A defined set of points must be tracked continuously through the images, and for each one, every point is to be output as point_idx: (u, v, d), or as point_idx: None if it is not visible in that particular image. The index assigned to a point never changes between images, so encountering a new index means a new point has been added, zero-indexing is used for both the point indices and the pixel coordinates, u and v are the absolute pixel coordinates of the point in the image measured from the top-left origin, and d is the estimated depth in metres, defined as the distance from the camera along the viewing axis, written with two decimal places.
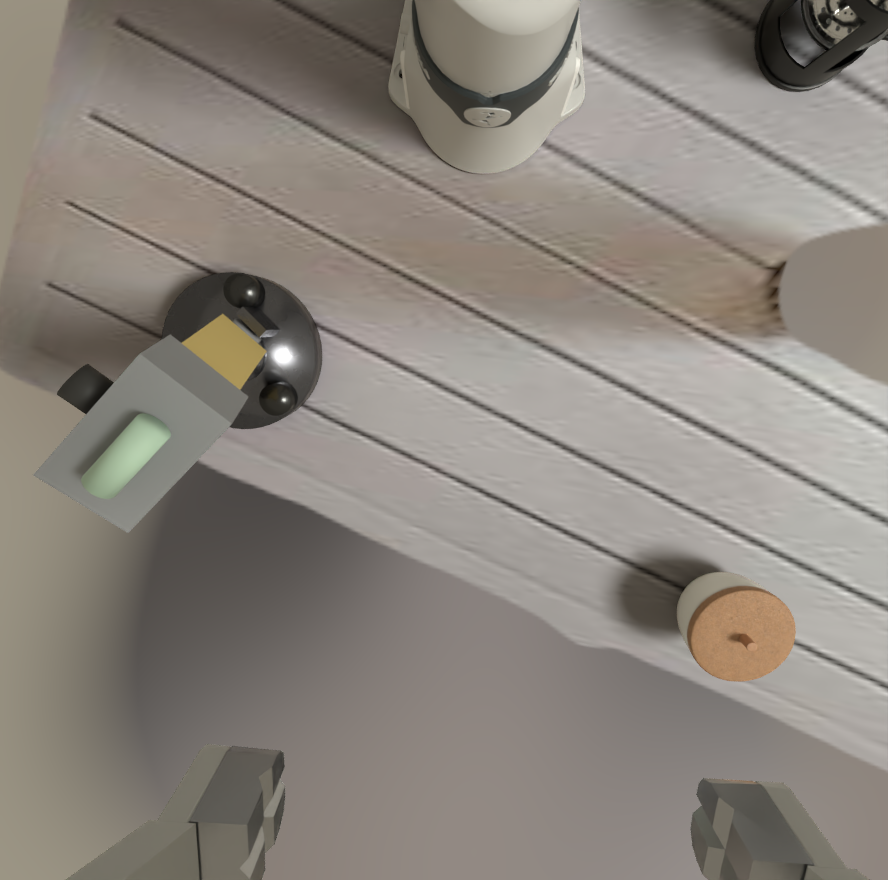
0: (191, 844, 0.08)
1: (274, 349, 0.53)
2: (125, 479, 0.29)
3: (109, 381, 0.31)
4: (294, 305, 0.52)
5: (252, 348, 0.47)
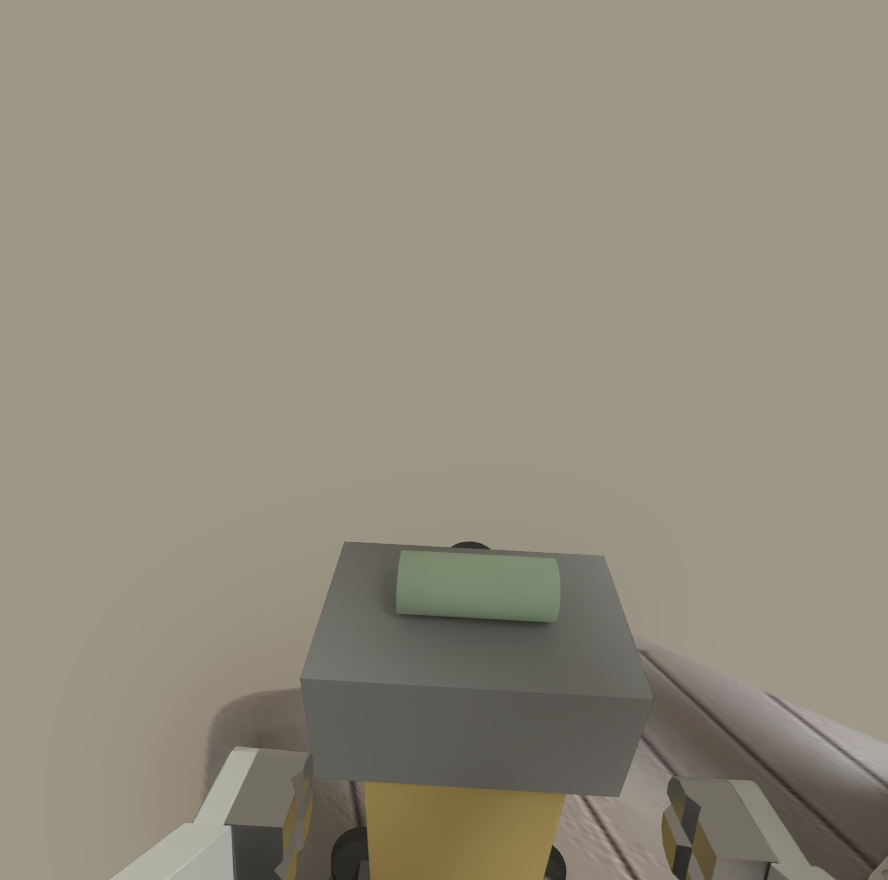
0: (226, 847, 0.08)
1: None
2: (451, 587, 0.16)
3: None
4: None
5: None
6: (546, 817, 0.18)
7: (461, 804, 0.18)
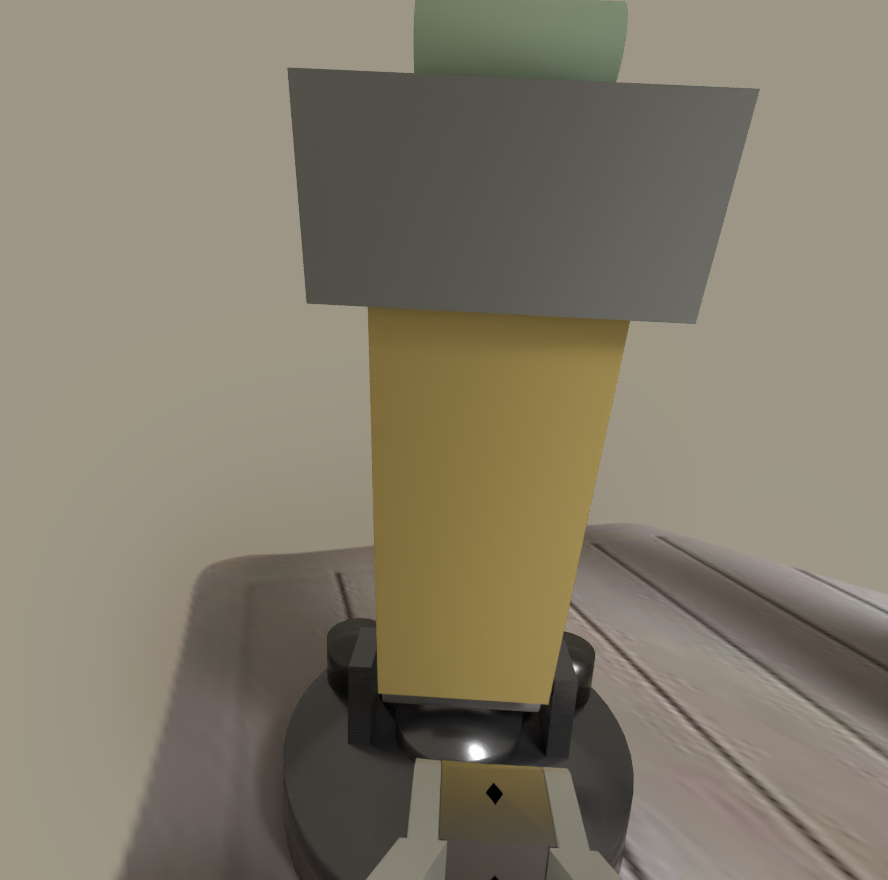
0: (443, 862, 0.08)
1: None
2: (486, 8, 0.12)
3: None
4: (626, 751, 0.24)
5: None
6: (595, 402, 0.15)
7: (490, 381, 0.15)
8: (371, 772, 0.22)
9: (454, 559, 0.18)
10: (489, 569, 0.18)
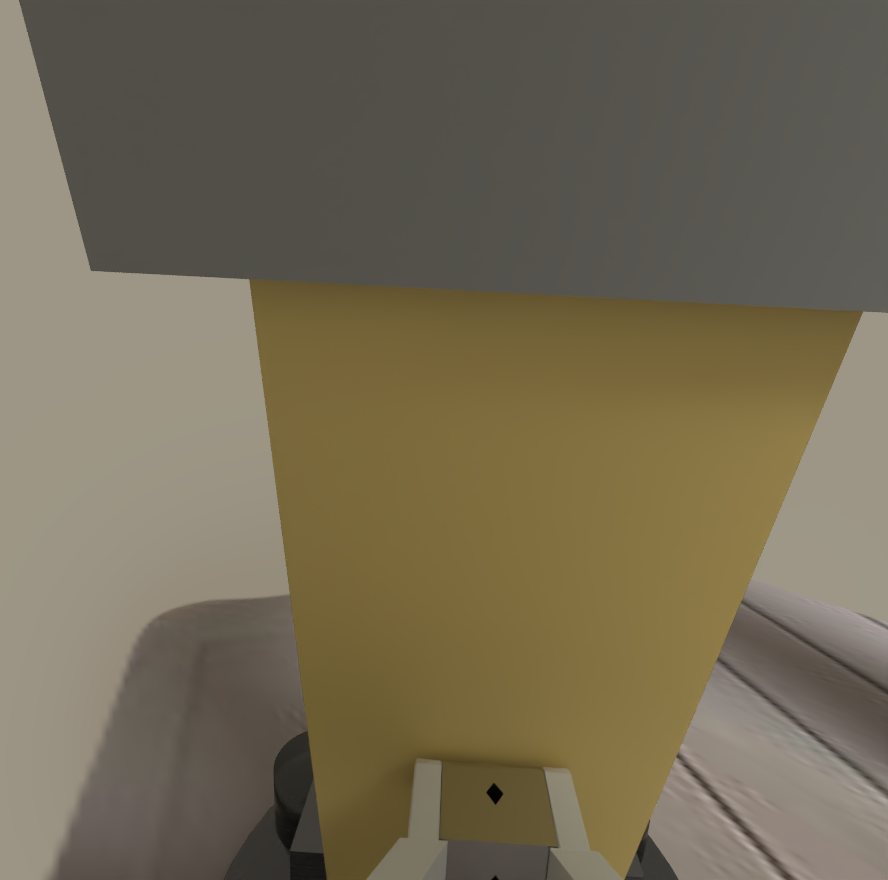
0: (443, 862, 0.08)
1: None
2: None
3: None
4: None
5: None
6: (752, 489, 0.07)
7: (528, 446, 0.07)
8: None
9: (452, 746, 0.10)
10: (515, 761, 0.10)
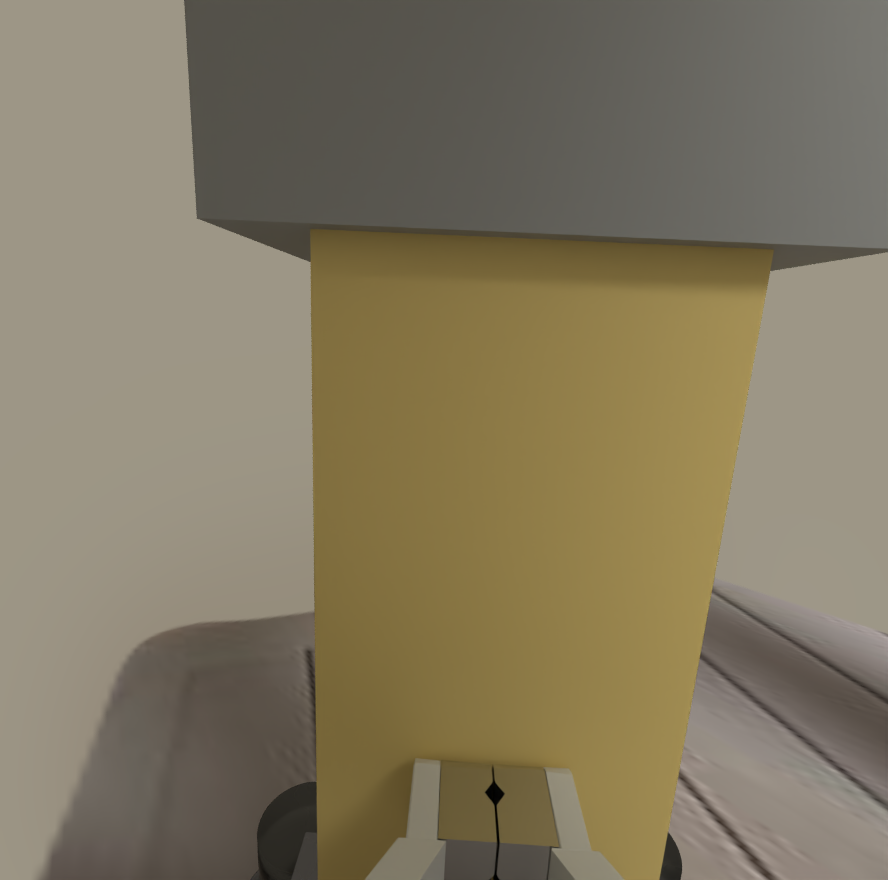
0: (442, 862, 0.08)
1: None
2: None
3: None
4: None
5: None
6: (714, 413, 0.08)
7: (525, 375, 0.08)
8: None
9: (460, 721, 0.10)
10: (524, 740, 0.10)
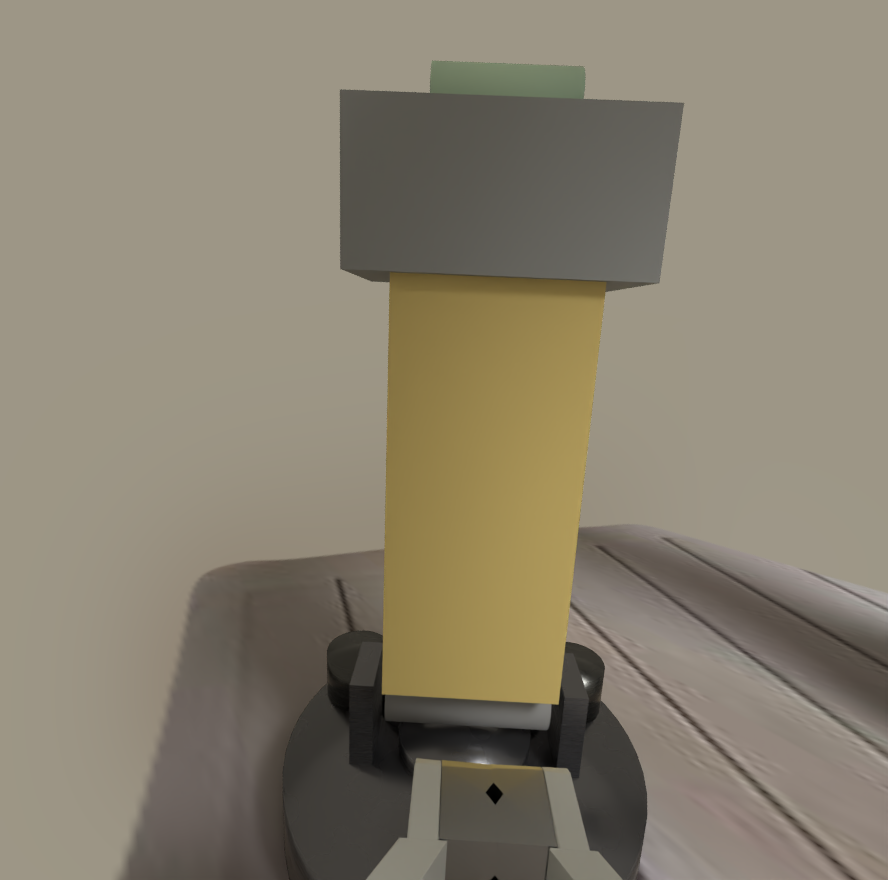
0: (443, 862, 0.08)
1: None
2: (482, 67, 0.17)
3: None
4: (638, 769, 0.23)
5: None
6: (583, 360, 0.17)
7: (492, 342, 0.17)
8: (373, 796, 0.21)
9: (461, 525, 0.19)
10: (494, 536, 0.19)
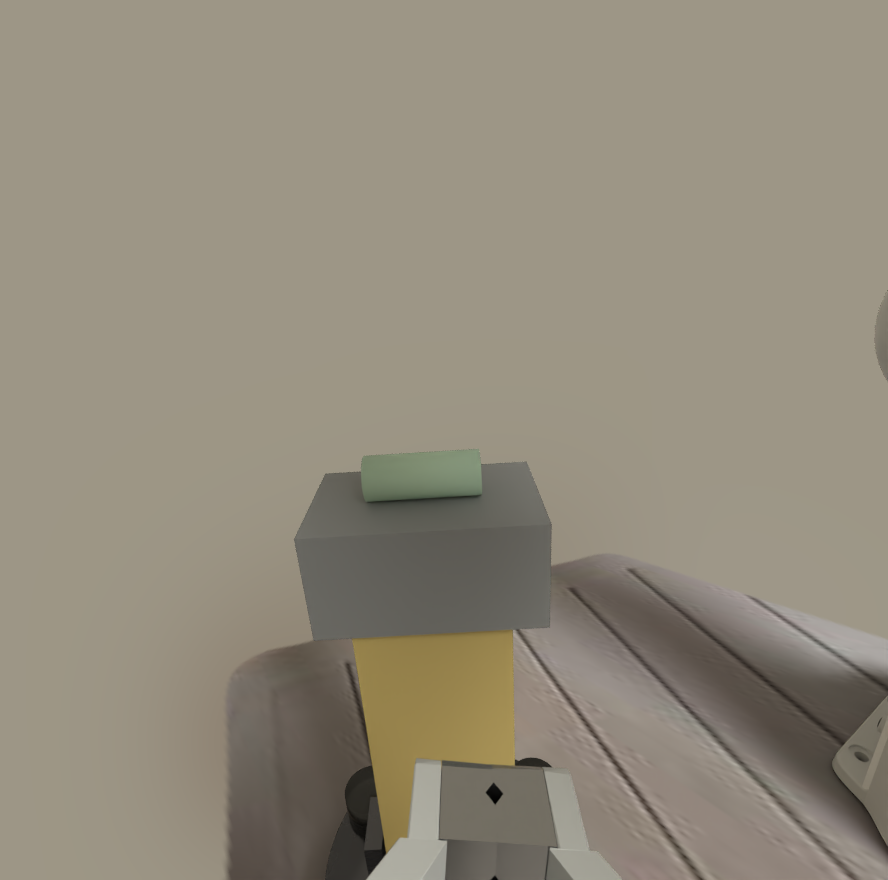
0: (443, 862, 0.08)
1: None
2: (401, 471, 0.21)
3: None
4: None
5: None
6: (502, 667, 0.23)
7: (433, 663, 0.23)
8: None
9: None
10: None
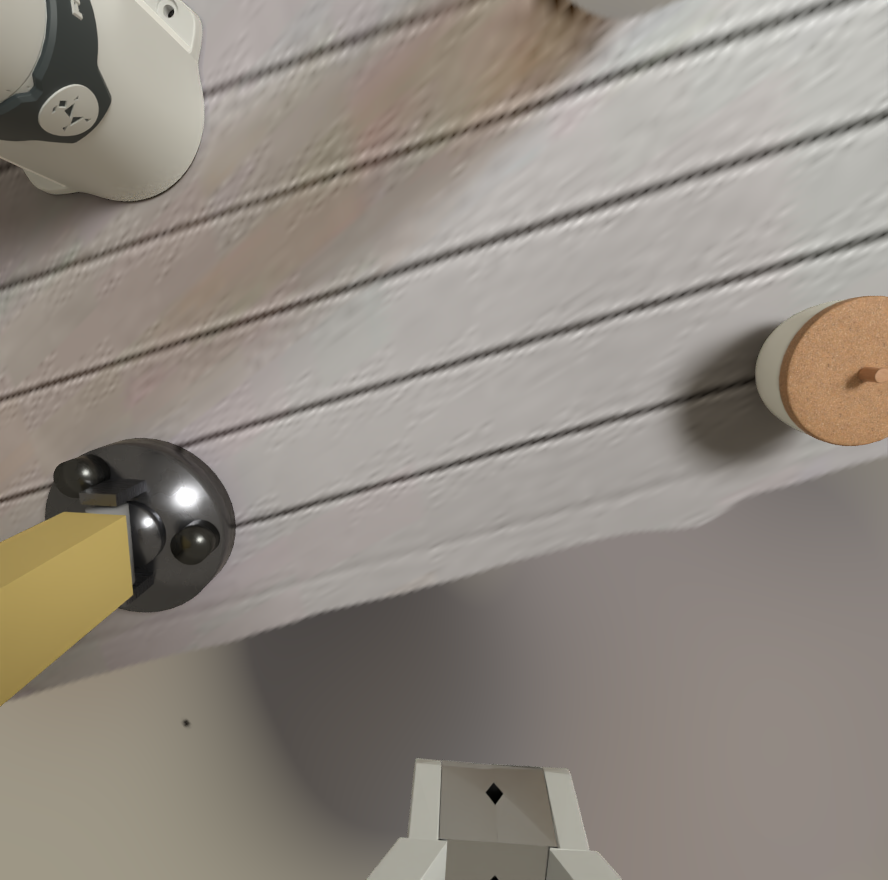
0: (443, 862, 0.08)
1: (157, 501, 0.46)
2: None
3: None
4: (135, 448, 0.45)
5: (91, 525, 0.39)
6: None
7: None
8: (168, 571, 0.47)
9: (63, 613, 0.35)
10: (65, 594, 0.35)
